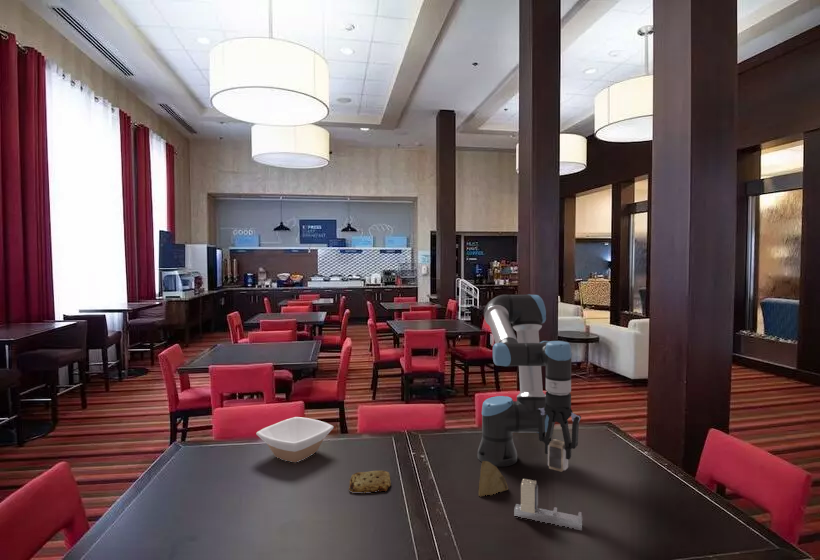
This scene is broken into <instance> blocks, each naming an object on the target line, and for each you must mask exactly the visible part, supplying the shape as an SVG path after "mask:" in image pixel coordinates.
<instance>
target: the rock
mask: <svg viewBox="0 0 820 560" xmlns="http://www.w3.org/2000/svg"><path fill="white" fill-rule="evenodd" d="M480 465H481V466H480V470H479V472H480V473H479V474H480V475H479V482H478V491H477V494H478V497H479V496H480V498H481V497H485V495H486V496H487V495H490V496H494V495H497V494H498V492H500V493H502V492H505V491H508V490H509V485H508V483H507V480H506V478H505V476H504V475H503V474H502V472H501V471H500V470H499V468H498V466H494V465H493V464H491V463H490V462H488V461H482V462H481V464H480ZM496 493H497V494H496ZM493 494H494V495H493ZM487 497H488V496H487Z"/></svg>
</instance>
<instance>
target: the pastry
mask: <svg viewBox="0 0 820 560" xmlns="http://www.w3.org/2000/svg"><path fill="white" fill-rule="evenodd" d="M391 483H392V482H391V475H390V472H389V471H386V470H370V471H359V472H355V473H353V474H351V477H350V479H349V487H348V491H349V490H350V491H352V492H365V493H366V492H375V491H378V490H379V491H378V492H381V491H385V492H387V491H388V489H389V488H390V487H391V486H392V484H391ZM350 491H349V492H350ZM365 493H364V494H365Z"/></svg>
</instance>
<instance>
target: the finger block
mask: <svg viewBox="0 0 820 560" xmlns="http://www.w3.org/2000/svg"><path fill="white" fill-rule="evenodd" d="M551 440H552V441H551V442H550V443H549V466H548V469H550V470H554V471H558V472H561V473H562V472H563V471H564V470H563V448H564V447H565V443H564V440H560V439H555V438H554V439H551Z"/></svg>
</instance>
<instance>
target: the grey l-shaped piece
mask: <svg viewBox="0 0 820 560" xmlns="http://www.w3.org/2000/svg"><path fill="white" fill-rule="evenodd" d="M538 506H539V485H538V484H537V480H534V479H533V480H532V479H528V478H522V480H521V483H520V504H519V503H515V506H514V508H513V509H514V510H513V512H514V513H513V516H518V517H521V518H520V519H522V518H527V519H532V520H535V521H534V522H537V521H540V522H539V523H542V522H545V523H544V524H547V523H551V524H550V525H552V524H555V525H554V526H557V525H559V526H558V527H562V526H565V527H564V528H567V527H569V528H568V529H572V528H574V529H573V530H578V531H583V515H582V512H581V511H578V514H577V515H576V514H571V513H566V512H561V511H558V507H553V510H549V509H546V508H542V507H541V508H539V507H538ZM518 517H517V518H518ZM527 519H526V520H527ZM532 520H531V521H532Z"/></svg>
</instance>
